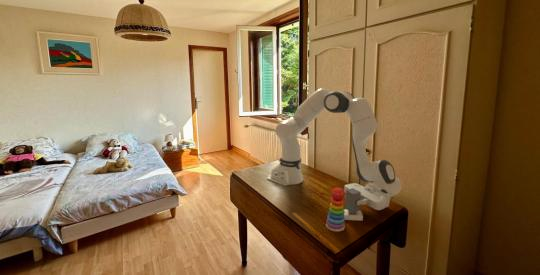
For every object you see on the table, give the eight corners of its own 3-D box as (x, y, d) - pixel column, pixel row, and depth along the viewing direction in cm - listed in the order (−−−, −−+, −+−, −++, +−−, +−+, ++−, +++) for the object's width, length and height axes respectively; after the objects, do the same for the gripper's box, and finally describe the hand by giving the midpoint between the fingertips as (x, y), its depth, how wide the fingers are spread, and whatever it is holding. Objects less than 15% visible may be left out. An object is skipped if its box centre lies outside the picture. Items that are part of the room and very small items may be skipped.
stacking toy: (336, 236, 103) (338, 194, 98) (321, 227, 109) (323, 187, 104) (348, 229, 107) (351, 188, 102) (333, 220, 113) (335, 182, 109)
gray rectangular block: (351, 210, 116) (352, 188, 113) (359, 215, 112) (360, 192, 110) (345, 212, 115) (346, 190, 112) (352, 217, 111) (353, 194, 108)
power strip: (336, 221, 113) (337, 214, 112) (335, 215, 117) (335, 208, 116) (362, 223, 111) (362, 215, 110) (359, 216, 116) (360, 209, 115)
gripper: (356, 178, 126) (335, 184, 119) (393, 195, 108) (370, 203, 102) (356, 189, 127) (334, 196, 121) (391, 208, 110) (369, 217, 103)
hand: (351, 199), depth 111 cm, fingers closed on gray rectangular block, 4 cm apart
